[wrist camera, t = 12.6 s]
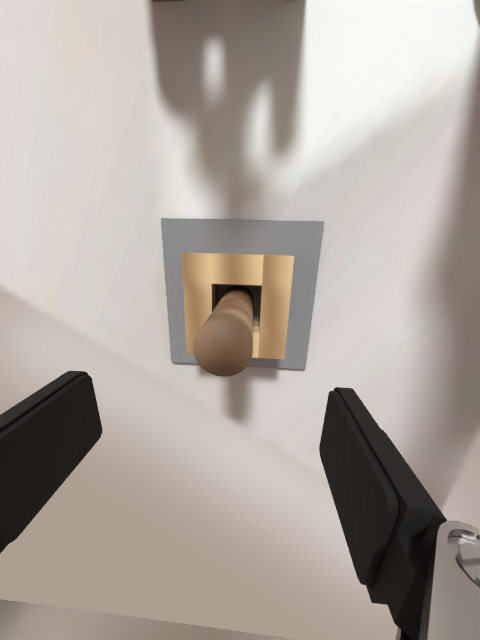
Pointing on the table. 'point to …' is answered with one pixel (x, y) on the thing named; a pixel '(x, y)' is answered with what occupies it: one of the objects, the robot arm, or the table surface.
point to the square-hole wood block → (240, 270)
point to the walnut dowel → (227, 334)
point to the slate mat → (245, 239)
